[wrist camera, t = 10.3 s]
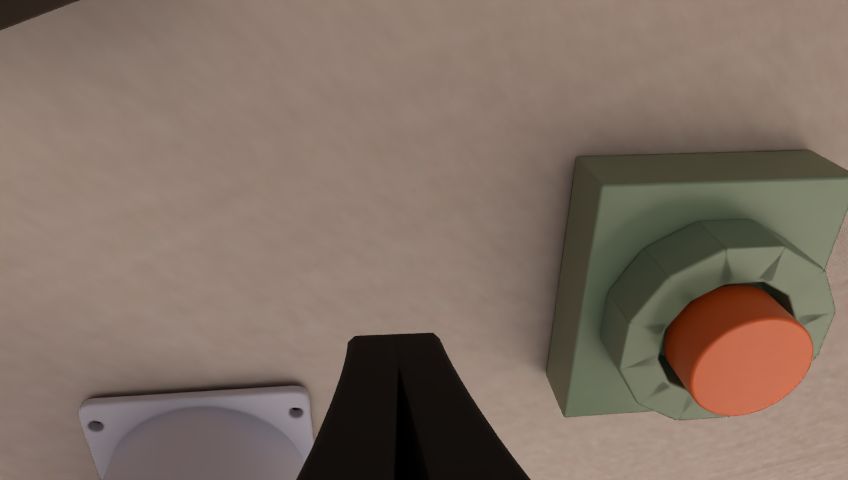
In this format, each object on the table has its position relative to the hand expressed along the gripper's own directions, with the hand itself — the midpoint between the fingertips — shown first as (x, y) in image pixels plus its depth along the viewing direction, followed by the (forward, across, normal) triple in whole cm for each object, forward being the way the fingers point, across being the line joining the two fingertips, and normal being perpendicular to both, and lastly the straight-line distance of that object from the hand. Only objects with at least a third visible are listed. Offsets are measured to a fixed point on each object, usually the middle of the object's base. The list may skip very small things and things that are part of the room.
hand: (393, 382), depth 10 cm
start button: (+7, -10, +5) cm, 13 cm away
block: (+10, -10, +5) cm, 15 cm away
